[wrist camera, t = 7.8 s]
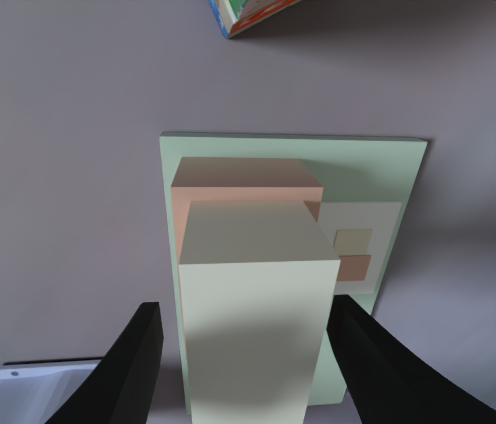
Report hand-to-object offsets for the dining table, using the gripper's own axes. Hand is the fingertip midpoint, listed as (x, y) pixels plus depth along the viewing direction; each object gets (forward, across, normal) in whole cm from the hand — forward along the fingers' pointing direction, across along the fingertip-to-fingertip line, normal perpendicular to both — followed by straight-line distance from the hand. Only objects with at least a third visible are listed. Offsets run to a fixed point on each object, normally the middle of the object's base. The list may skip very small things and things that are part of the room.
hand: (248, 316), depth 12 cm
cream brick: (+2, 0, 0) cm, 2 cm away
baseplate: (+7, -3, +6) cm, 10 cm away
